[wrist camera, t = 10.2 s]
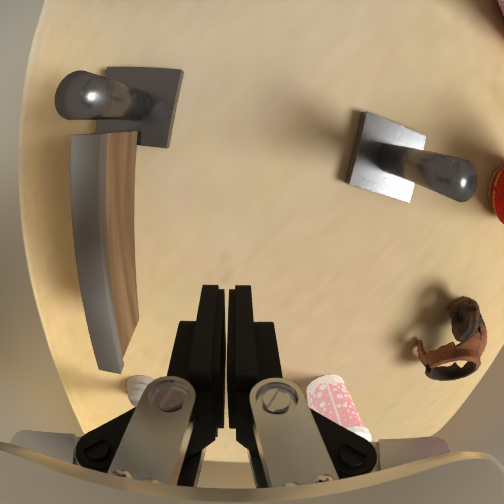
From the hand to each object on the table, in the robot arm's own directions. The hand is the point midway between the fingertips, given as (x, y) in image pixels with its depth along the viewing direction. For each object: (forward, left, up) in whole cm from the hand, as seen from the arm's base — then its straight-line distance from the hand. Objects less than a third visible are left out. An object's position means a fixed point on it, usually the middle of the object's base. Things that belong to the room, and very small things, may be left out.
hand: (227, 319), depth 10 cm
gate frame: (-7, +1, -14) cm, 16 cm away
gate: (+3, -8, -12) cm, 15 cm away
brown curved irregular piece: (+8, +28, -14) cm, 32 cm away
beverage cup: (+19, +14, -14) cm, 27 cm away
